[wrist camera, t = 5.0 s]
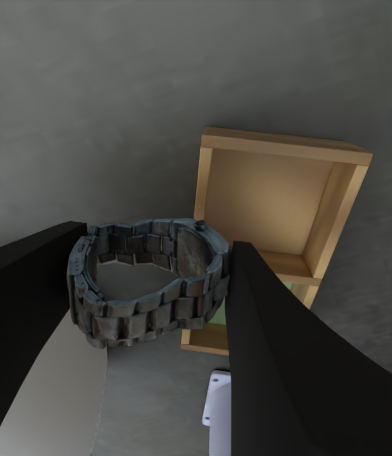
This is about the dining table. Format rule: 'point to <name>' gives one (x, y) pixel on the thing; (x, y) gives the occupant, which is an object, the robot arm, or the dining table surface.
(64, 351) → the vase
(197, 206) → the divided wooden tray
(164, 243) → the wristwatch
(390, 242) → the dining table surface
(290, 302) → the robot arm
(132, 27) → the dining table surface
